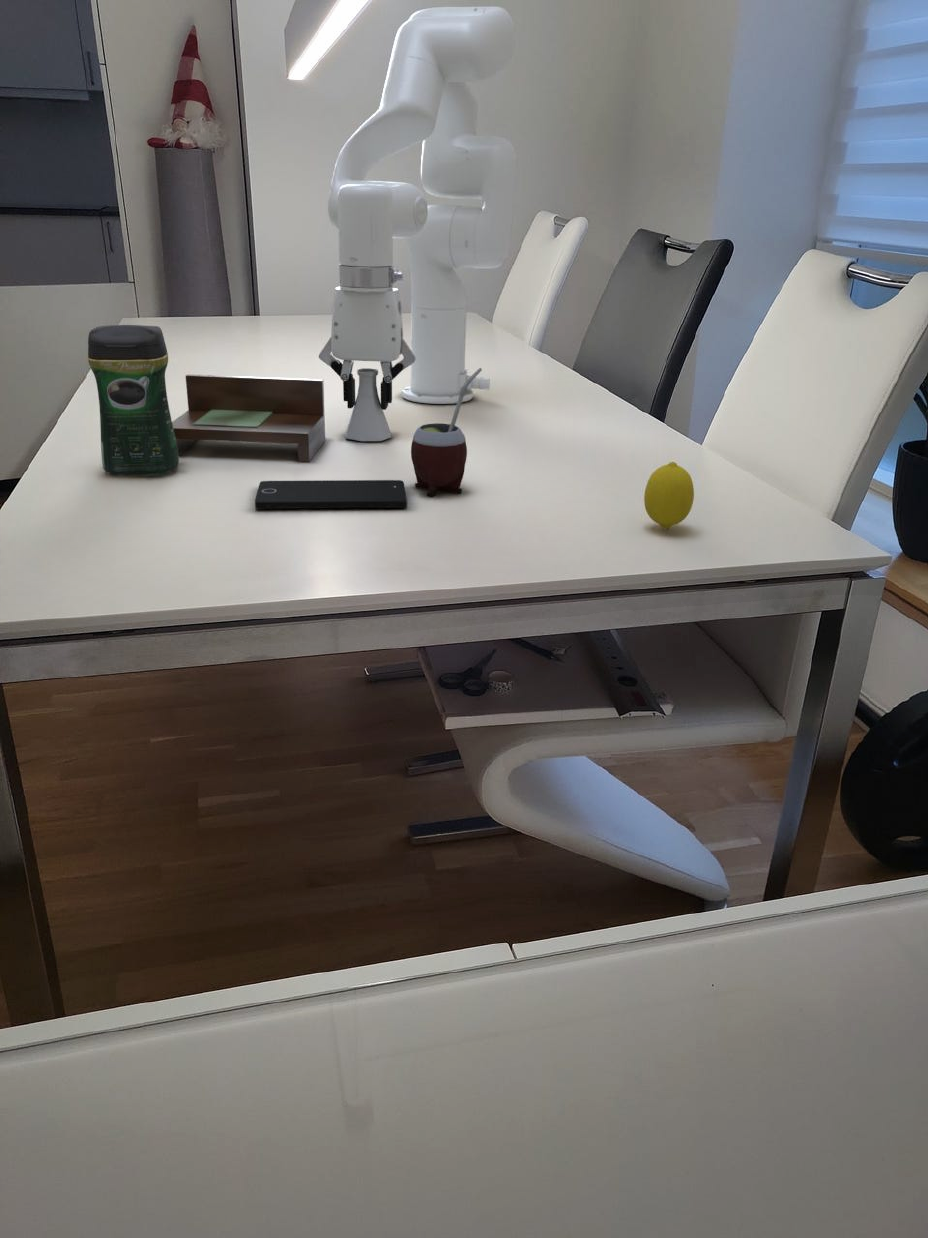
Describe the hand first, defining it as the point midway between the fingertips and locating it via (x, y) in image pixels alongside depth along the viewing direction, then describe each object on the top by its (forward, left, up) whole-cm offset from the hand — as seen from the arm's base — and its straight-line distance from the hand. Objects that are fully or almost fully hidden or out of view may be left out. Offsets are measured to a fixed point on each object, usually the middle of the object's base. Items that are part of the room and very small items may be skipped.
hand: (368, 405), depth 150 cm
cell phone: (0, +31, -5) cm, 31 cm away
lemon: (-40, +37, -5) cm, 55 cm away
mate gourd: (-13, +25, -5) cm, 29 cm away
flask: (0, 0, -5) cm, 5 cm away
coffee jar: (+27, +22, -5) cm, 35 cm away
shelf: (+16, +9, -5) cm, 19 cm away
